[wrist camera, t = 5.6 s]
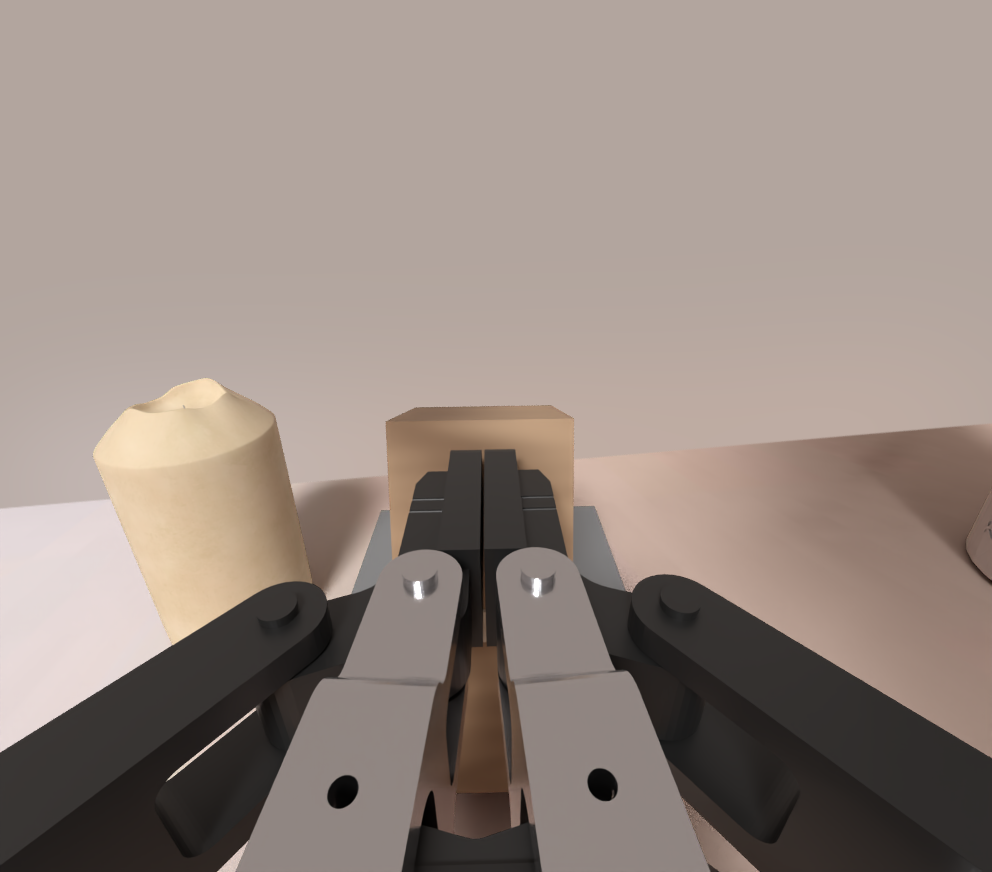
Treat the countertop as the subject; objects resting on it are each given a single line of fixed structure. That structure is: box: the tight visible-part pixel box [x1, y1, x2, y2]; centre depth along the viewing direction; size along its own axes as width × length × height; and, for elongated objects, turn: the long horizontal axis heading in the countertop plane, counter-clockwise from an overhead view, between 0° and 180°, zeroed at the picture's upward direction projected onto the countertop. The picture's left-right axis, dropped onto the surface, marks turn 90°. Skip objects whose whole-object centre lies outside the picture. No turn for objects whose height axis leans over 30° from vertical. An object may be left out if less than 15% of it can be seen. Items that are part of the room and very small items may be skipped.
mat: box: [352, 506, 625, 594], centre depth 23 cm, size 12×9×1 cm
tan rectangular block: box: [386, 405, 574, 793], centre depth 14 cm, size 4×5×10 cm
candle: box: [93, 378, 313, 645], centre depth 18 cm, size 6×6×10 cm
